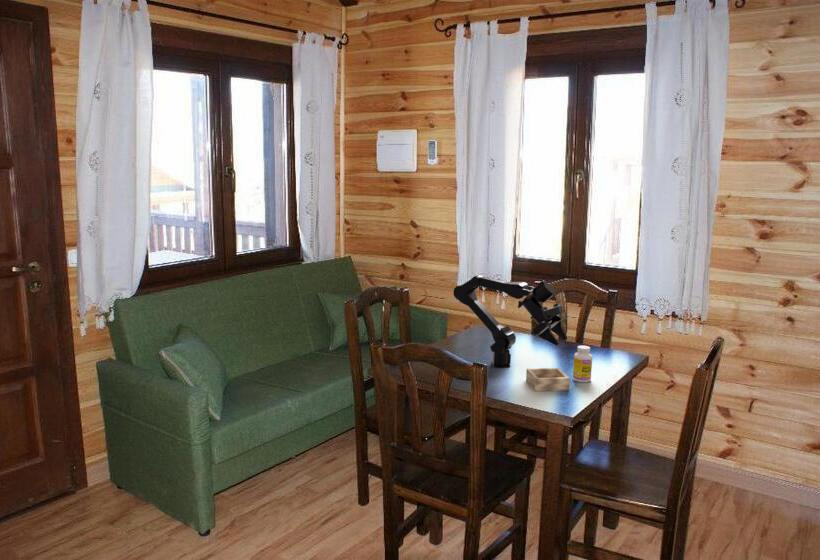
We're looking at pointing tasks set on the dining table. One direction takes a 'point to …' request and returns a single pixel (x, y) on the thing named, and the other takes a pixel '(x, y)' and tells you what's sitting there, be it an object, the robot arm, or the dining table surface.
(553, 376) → the birch box
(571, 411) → the dining table surface
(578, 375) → the supplement bottle
